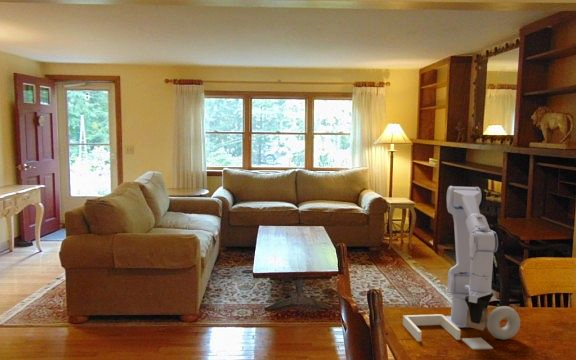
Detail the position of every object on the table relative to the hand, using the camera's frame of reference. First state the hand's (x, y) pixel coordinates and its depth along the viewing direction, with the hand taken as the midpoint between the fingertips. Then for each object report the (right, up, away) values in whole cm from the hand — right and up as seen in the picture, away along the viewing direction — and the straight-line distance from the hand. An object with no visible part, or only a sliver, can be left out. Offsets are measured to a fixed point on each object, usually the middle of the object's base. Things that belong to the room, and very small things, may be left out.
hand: (477, 319), depth 128 cm
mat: (0, -7, +1) cm, 7 cm away
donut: (+9, -7, +5) cm, 13 cm away
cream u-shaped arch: (-11, -6, +8) cm, 15 cm away
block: (0, -2, 0) cm, 2 cm away
